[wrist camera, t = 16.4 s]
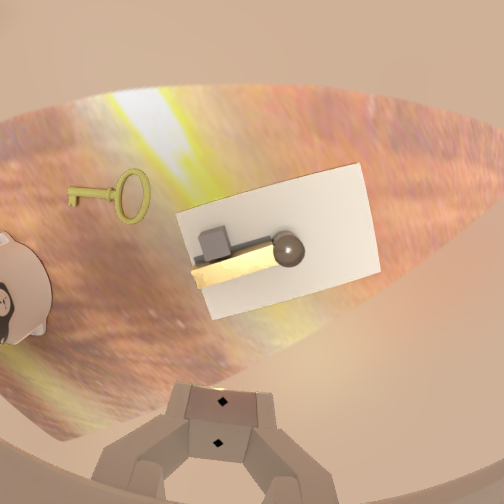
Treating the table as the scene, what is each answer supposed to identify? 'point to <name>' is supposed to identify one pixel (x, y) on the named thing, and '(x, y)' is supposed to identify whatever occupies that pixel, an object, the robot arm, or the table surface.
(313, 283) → the lock plate
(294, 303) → the table surface
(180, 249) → the table surface
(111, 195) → the key
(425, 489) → the robot arm
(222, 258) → the swing arm
